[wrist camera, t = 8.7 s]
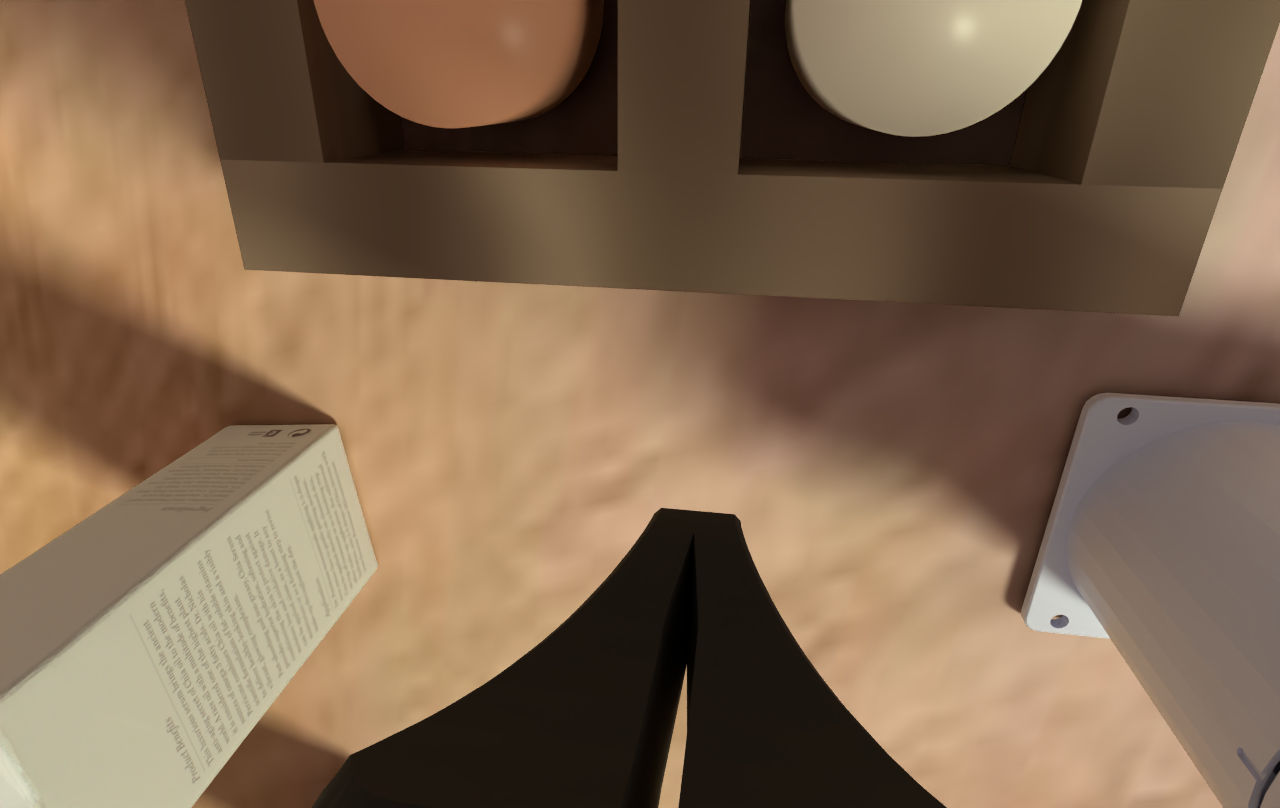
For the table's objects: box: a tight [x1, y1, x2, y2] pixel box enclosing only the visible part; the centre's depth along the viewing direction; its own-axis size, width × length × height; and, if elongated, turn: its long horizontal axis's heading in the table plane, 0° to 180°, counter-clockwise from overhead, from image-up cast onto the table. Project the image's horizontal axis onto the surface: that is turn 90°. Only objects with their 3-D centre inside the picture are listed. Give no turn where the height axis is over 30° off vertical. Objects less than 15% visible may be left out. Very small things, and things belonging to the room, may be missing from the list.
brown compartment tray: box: [185, 0, 1280, 316], centre depth 15 cm, size 21×12×4 cm, turn 89°
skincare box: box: [0, 424, 378, 808], centre depth 19 cm, size 6×4×12 cm
